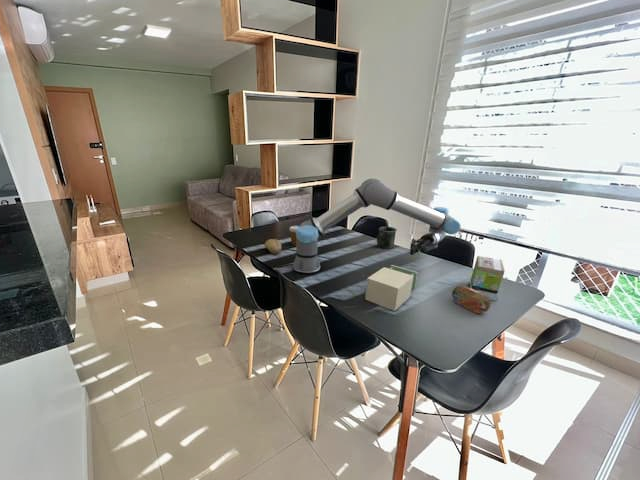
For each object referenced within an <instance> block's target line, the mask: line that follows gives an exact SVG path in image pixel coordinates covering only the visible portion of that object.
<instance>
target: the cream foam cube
mask: <svg viewBox="0 0 640 480" xmlns="http://www.w3.org/2000/svg"><path fill="white" fill-rule="evenodd" d="M389 268H390V267H385V266H384V267H382V268H380V269H379V270H378V271H376V272H374V273H372V274H371V275H370V276H368V277H367V279H366V285H365V286H366V288H365V289H366V290H365V295H364V300H366V301H368V302H370V303H373V304H375V305H378V306H381V307H384V308H386V309H388V310H391V311H393V312H396V311H397V310H398V309H399V308H400V307H401V306H402V305H403V304H404V303H405V302H406V301H407V300H409V299H410V298H411V293H412V289H411V288H412V282H413V276H412V275H409V274H406V273H402V272H399V271H395V270H392V269H389Z"/></svg>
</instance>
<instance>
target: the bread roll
mask: <svg viewBox="0 0 640 480" xmlns="http://www.w3.org/2000/svg"><path fill="white" fill-rule="evenodd" d="M282 247H283V246H282V244H281V241H280V240H279V239H278V238H270V239H267V240H266V241H265V242H264V248H265V249H266V250H268V252H270V254H273V255H278V254H280V253H281V252H282Z"/></svg>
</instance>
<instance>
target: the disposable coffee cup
mask: <svg viewBox="0 0 640 480" xmlns="http://www.w3.org/2000/svg"><path fill="white" fill-rule="evenodd" d="M299 226H300V225H292V226H290V227H289V229H288V230H289V234H290V235H289V236H290V241H291V245H292V246H295V247H296V231H297V229H298V228H299Z"/></svg>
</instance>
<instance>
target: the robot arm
mask: <svg viewBox="0 0 640 480" xmlns="http://www.w3.org/2000/svg"><path fill="white" fill-rule="evenodd" d="M371 205H372V206H376V207H379V208H381V209H383V210H386V211H390V210H392V211H394V212H397V213H399V214H402V215H403V216H404V215H405V217H409V218H411V219H414V220H416V221H419V222H421V223H424V224H426V225H429V228H428V231H427V232H426V233H424V234H423V235H422V236H421V237H420V238H418V239H415V238H411V243H410V247H409V249H410V250H409V255H411V256H414V255H416V254H417V253H420V252H423V253H427V252H429V251H432V250H437V249H438V243H440V242H442V241H443V240H444V239H445V238H446V236H447V235H455V234H456V235H457V233H458V232H459V231H460V230H461V227H462V225H461V222H460V221H459V220H458V219H456V218H454V217H452V216H451V215H449V208H447V207H443V206H436V207H433V208H430V207H428V206H426V205H424V204H421V203H419V202H416V201H413V200H411V199H409V198H406V197H404V196H401V195H399V193H398V192H397V191H395V190H393V189H391V188H390V187H388V186H387V185H385V184H384V183H383V182H382V181H381V180H379V179H377V178H368V179H365V180H364V181H363V182H362V183H361V184H360V185H359V186H358V187H357V188H355V189H354V190H353V193H352V194H351V195H349V196H348V197H346V198H345V199H343V200H342V201H340V202H339V203H338V204H336V205H334V206H333V207H332V208H330V209H328V210H327V211H326V212H324V213H322V214H321V215H320V216H318V217H312V218H310V219H309V220H305V221H303V222H302V223H300V225H298V226H299V228H298V229H297V231H296V246H295V249H296V250H295V258H294V261H293V263H288V264H283V265H278V266H277V267H278V268H284V267H291V266H292V270H293V271H294V272H296V273H298V274H302V275H303V274H304V275H312V274H316V273H319V272H320V270H321V263H320V258H319V257H318V250H319V249H318V248H319V246H318V245H319V239H320V238H321V237H322V236H324V235H325V233H326V231H327V230H329V229H330V228H331V227H333V226H335V225H337V224H338V223H339V222H341V221H342V220H344V219H346V218H347V217H349V216H350V215H352V214H353V213H355V212H356V211H358V210H360V209H361V208H365V209H366V208H368V207H370V206H371Z"/></svg>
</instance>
